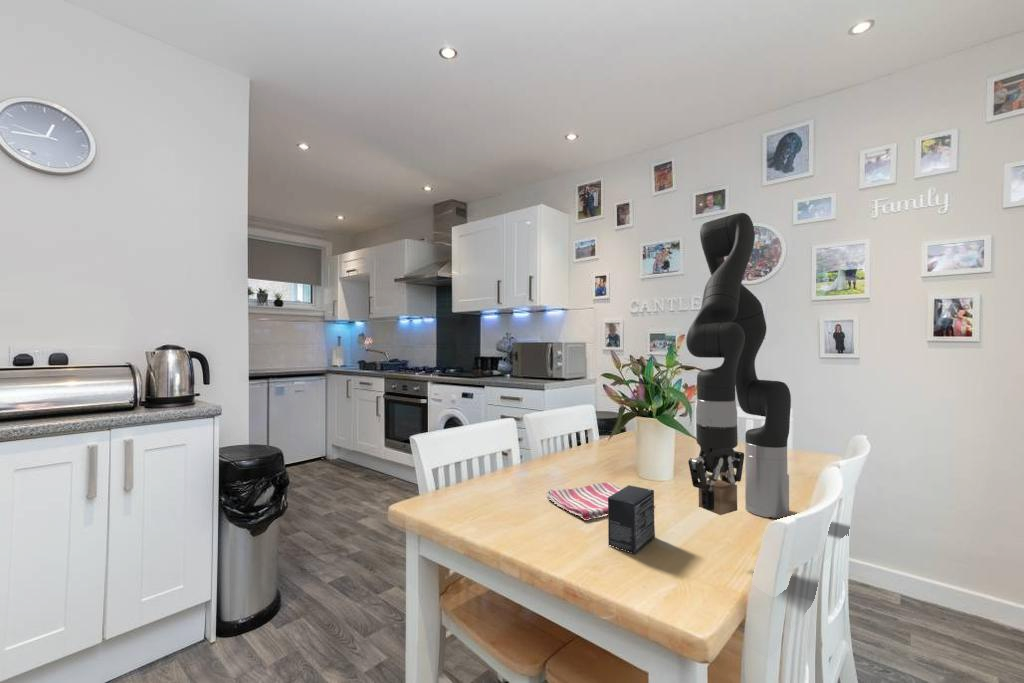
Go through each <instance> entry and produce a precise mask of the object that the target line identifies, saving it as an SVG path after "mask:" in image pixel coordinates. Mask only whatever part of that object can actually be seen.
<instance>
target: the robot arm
mask: <svg viewBox="0 0 1024 683" xmlns="http://www.w3.org/2000/svg"><path fill="white" fill-rule="evenodd" d="M755 234H756V233H755V227H754V222H753V221H752V217H750V215H748V214H747V213H745V212H737V213H733V214H730V215H726V216H723V217H720V218H717V219H712V220H710V221H707V222H703V224H702V225H701V226H700V230H699V236H700V244H701V247H702V251H703V254H704V257H705V259H706V263H707V267H708V269H709V272H710V277H709V278H708V280H707V282H706V284H705V286H704V290H703V296H702V301H701V307H700V309H699V311H698V313H697V315H696V317H695V318H694V320H693V321H692V323H691V325H690V327H689V329H688V332H687V334H686V338H685V343H686V347H687V350H688V351H689V353H690V354H691V355H692V356H693V357H696V358H713V359H715V358H716V359H717V358H719V359H720V358H723V362H722V363H721V365H720V366H718V367H714V368H708V369H703V370H700V371H699V372H697V375H696V401H697V402H696V407H695V408H696V409H695V423H696V425H695V426H696V429H695V431H696V434H695V435H696V444H698V446H699V447H700V451H699V454H698V456H697V457H696V458H689V459H688V461H687V462H688V468H689V472H690V476H691V482H692V483H691V484H692V486H693V488H697V489H699V488H700V489H701V493H702V506H703V507H704V508H705V509H704V510H706V509H708V510H713V509H714V492H713V489H714V485H715V481H717V480H718V479H719V478H720V479H719V480H722V481H725V482H728V483H731V484H735V485H736V483H740V482H741V480H742V475H743V468H744V464H745V480H744V481H745V483H744V484H745V497H744V498H745V509H746V511H748V512H749V513H751V514H753V515H756V516H759V517H764V518H769V517H772V518H771V519H782V518H781V517H784V518H786V517H788V513H790V475H789V473H788V440H789V439H788V438H789V434H790V424H791V421H790V420H791V407H792V399H791V398H792V396H791V395H792V394H791V391H790V388H789V386H788V385H787V383H785V382H784V381H779V380H769V379H759V378H758V376H757V371H756V363H755V362H756V358H757V354H758V352H759V350H760V349H761V347H762V345H763V343H764V339H765V337H766V335H767V322H766V318H765V313H764V309H763V305H762V303H761V301H760V300H759V299H758V298H757V296H755V294H754V293H752V291H750V290H749V289H748V288H747V287H746V286H744V285H743V283H742V282H743V278H744V275H745V273H746V271H747V268H748V265H749V262H750V258H751V256H752V252H753V249H754V245H755V240H756V235H755ZM725 257H726V259H725ZM736 397H737V400H736ZM736 402H738V405H739V407H740V409H741V410H742V412H744V413H746V414H747V415H751V416H752V415H753V416H758V417H759V416H760V417H764V418H765V420H764V424H763V425H762V426H759V427H757V428H750V429H746V432H745V434H744V435H745V436H744V437H745V439H744V440H745V443H744V445H745V447H744V448H745V451H744V452H745V453H744V452H742V451H739V450H734V448H737V447H738V445H739V442H738V440H739V438H738V410H737V409H738V408H737V404H736ZM744 461H745V462H744ZM708 473H709V474H708ZM706 480H709V483H708V484H707V483H706ZM708 510H707V511H708ZM785 516H786V517H785Z"/></svg>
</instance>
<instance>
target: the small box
mask: <svg viewBox="0 0 1024 683" xmlns="http://www.w3.org/2000/svg"><path fill="white" fill-rule="evenodd" d="M621 489H622V490H620V491H618V492H617V493H615V494H613V495H612V496H610V497H608V516H607V526H608V529H607V530H608V535H607V536H608V539H607V540H608V546H609V545H611V546H614V547H617V548H619V549H623V550H626V551H629V552H632V553H636V554H638V553H639V552H640V551H641V550H642V549H643V548H645V547H646V544H647V543H648V542H649V543H650V542H651V541H652V540H653V539H654V538H656V529H655V528H656V527H655V491H654V489H651V488H645V487H640V486H635V485H627V486H625V487H624V488H621ZM649 543H648V544H649ZM648 544H647V545H648ZM641 548H642V549H641ZM619 549H618V550H619ZM640 549H641V550H640ZM639 550H640V551H639ZM638 551H639V552H638ZM629 552H628V553H629ZM637 552H638V553H637ZM632 553H631V554H632Z"/></svg>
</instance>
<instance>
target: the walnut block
mask: <svg viewBox="0 0 1024 683" xmlns="http://www.w3.org/2000/svg"><path fill="white" fill-rule="evenodd" d="M706 483H707V484H708V483H709V479H707V480H706ZM713 492H714V509H713V510H708V509H705V508H704V507H703V506H702V493H701V489H700V488H698V508H702V509H704V510H706V511H708V512H711V513H712V514H713V513H714V514H716V515H719V516H723V515H726V514H730V513H733V512H736V511H738V485H737V484H736V483H735V484H731V483H728V482H725V481H722V480H721V479H719V478H718V480H717V481H715V485H714V489H713Z"/></svg>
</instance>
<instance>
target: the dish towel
mask: <svg viewBox="0 0 1024 683" xmlns="http://www.w3.org/2000/svg"><path fill="white" fill-rule="evenodd" d="M622 489H623V488H620V487H619V486H616V484H613V483H611V482H596V483H592V484H589V485H586V486H581V487H575V488H572V489H571V488H564V489H563V488H562V489H554V490H553V489H552V488H549V489H548V491H547V492H546V499H547V500H548V499H551V500H552V502H554V503H556V504H557V505H559V506H561V507H562V508H564V509H566V510H568V511H569V512H570V513H569V512H568V513H569V514H571V513H573V514H572V515H574V514H575V515H574V516H576V515H578V516H580V517H583V518H584V519H589V518H594V517H599V516H602V515H605V514H608V497H610V496H612V495H613V494H615V493H617V492H618V491H620V490H622ZM570 499H571V500H570ZM573 499H574V500H575V501H572V500H573ZM576 499H579V501H576ZM552 502H551V503H552ZM554 503H553V504H554ZM564 509H563V510H564ZM578 516H577V517H578ZM580 517H579V518H580ZM584 519H583V520H584ZM589 520H590V519H589Z"/></svg>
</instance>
